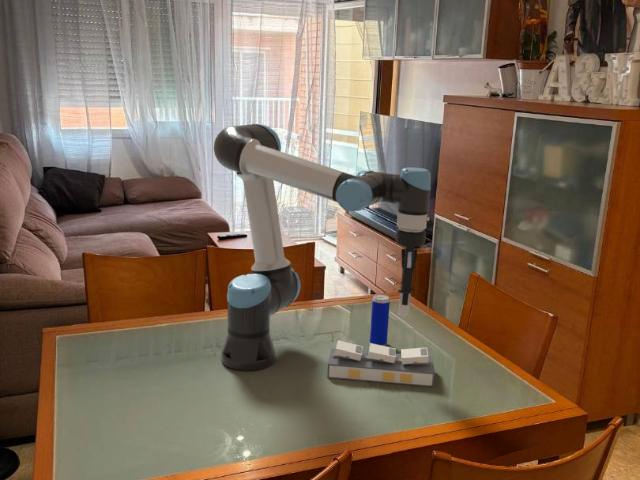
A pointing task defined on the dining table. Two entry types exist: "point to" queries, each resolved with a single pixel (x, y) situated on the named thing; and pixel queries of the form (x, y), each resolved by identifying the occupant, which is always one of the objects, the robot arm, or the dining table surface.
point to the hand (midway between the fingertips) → (403, 314)
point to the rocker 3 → (414, 356)
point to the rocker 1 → (348, 350)
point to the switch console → (380, 370)
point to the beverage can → (379, 320)
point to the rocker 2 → (382, 353)
